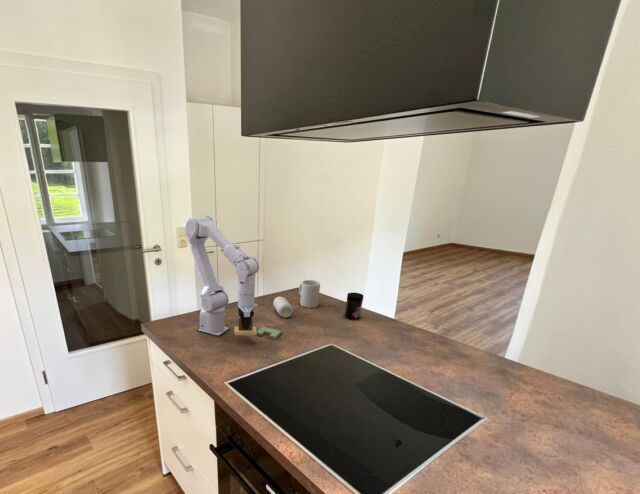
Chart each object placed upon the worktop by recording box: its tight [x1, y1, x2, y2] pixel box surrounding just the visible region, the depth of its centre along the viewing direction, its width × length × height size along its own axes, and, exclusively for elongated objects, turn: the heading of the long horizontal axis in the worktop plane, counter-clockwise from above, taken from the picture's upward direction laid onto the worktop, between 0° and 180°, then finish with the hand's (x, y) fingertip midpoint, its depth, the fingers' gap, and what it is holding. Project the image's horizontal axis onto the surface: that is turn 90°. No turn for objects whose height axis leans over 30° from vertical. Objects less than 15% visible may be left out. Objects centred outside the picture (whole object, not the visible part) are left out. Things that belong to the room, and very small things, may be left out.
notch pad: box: [256, 326, 282, 340], centre depth 141 cm, size 8×6×1 cm
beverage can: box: [272, 295, 294, 319], centre depth 160 cm, size 6×6×12 cm
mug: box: [298, 279, 321, 309], centre depth 171 cm, size 12×8×11 cm
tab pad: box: [234, 318, 258, 336], centre depth 133 cm, size 8×8×5 cm
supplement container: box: [344, 292, 364, 321], centre depth 157 cm, size 7×7×10 cm
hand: (245, 327), depth 132 cm, fingers closed on tab pad
